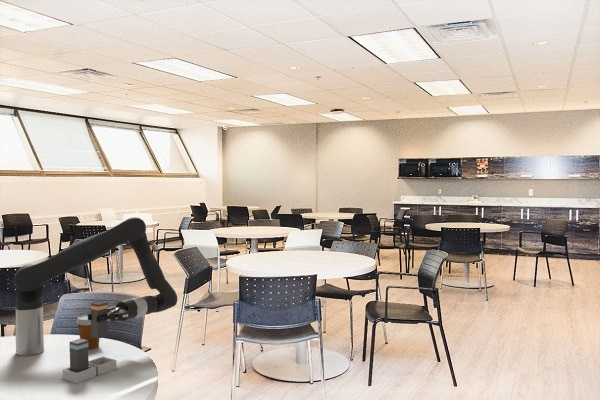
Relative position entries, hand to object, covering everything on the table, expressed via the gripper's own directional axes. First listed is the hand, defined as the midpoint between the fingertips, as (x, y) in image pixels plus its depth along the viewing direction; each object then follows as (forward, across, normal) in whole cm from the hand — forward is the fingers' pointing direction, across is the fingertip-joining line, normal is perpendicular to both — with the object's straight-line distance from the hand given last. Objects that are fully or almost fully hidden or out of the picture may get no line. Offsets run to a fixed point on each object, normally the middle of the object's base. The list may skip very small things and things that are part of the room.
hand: (92, 318), depth 186 cm
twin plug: (+11, +8, +16) cm, 21 cm away
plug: (-3, 0, +7) cm, 8 cm away
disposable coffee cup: (-13, -20, +17) cm, 29 cm away
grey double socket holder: (+7, +8, +17) cm, 20 cm away
